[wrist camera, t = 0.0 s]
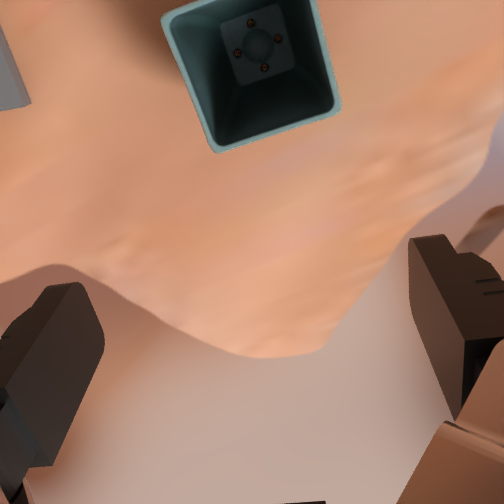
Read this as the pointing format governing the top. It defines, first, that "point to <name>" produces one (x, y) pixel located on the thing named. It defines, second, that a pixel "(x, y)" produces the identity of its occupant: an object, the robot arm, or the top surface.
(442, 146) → the top surface
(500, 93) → the top surface
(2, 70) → the slate board
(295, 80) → the flower pot
